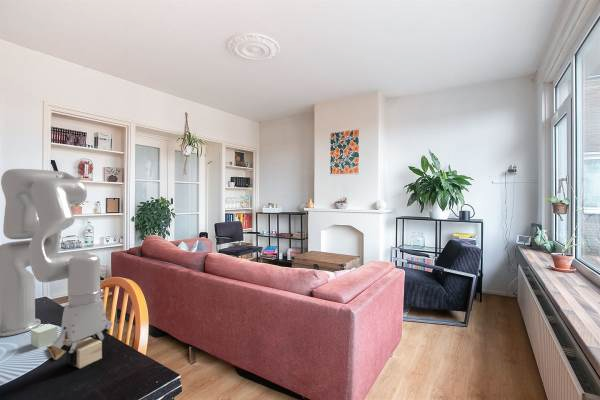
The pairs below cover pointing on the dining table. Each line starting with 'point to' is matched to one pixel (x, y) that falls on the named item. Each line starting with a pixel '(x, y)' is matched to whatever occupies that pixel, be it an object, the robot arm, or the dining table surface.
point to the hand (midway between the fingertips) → (85, 358)
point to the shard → (57, 350)
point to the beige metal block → (88, 351)
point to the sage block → (43, 335)
